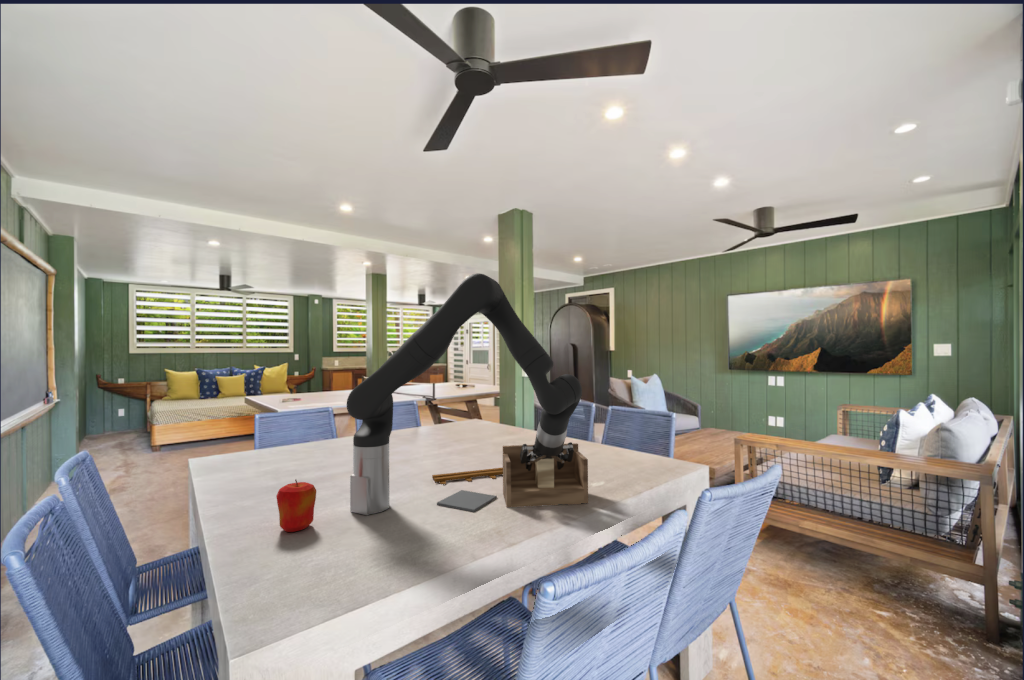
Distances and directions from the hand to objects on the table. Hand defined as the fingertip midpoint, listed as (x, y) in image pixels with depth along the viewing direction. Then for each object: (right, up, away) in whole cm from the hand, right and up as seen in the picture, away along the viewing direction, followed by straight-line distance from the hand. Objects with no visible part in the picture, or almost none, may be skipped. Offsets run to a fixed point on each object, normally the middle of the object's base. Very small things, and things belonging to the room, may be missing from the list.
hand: (543, 467), depth 125 cm
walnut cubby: (0, -9, 0) cm, 9 cm away
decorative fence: (-22, -10, +21) cm, 33 cm away
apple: (-60, -9, -20) cm, 64 cm away
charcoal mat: (-21, -9, -2) cm, 23 cm away
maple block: (0, -5, -1) cm, 5 cm away
